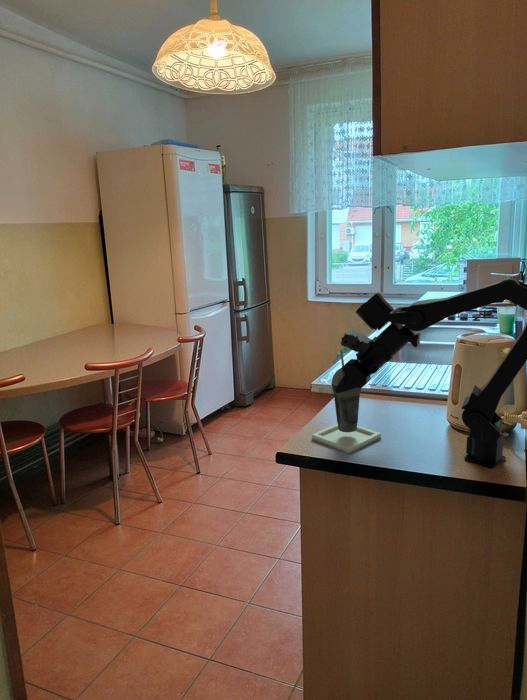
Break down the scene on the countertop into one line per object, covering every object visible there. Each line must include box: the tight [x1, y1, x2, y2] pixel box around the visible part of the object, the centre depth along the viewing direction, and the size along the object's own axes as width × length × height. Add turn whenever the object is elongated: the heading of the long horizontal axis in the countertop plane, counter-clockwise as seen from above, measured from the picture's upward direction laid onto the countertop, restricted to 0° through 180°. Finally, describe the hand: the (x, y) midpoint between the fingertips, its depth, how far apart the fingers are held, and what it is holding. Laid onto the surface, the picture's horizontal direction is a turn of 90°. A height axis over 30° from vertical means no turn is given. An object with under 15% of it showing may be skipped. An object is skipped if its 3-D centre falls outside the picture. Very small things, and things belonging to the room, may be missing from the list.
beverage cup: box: [330, 349, 362, 432], centre depth 126 cm, size 7×7×20 cm
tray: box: [311, 423, 382, 455], centre depth 129 cm, size 12×12×1 cm
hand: (341, 386), depth 126 cm, fingers closed on beverage cup, 7 cm apart
